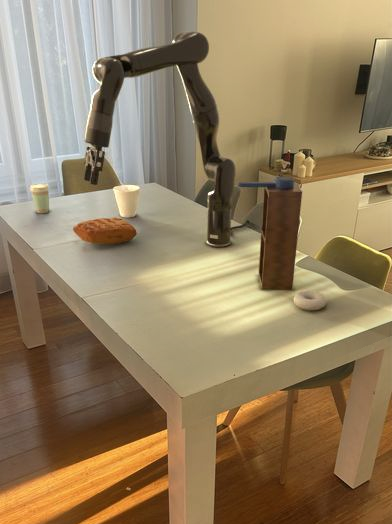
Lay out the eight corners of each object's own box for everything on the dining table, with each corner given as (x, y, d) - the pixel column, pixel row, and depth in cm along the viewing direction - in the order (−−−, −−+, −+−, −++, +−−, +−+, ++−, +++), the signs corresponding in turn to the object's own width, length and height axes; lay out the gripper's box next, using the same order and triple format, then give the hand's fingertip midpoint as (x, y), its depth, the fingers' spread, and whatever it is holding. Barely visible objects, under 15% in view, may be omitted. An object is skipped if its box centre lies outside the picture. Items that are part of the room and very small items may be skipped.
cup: (127, 210, 256) (125, 183, 250) (146, 214, 250) (145, 187, 244) (109, 216, 248) (107, 188, 242) (129, 220, 242) (127, 192, 236)
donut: (287, 307, 166) (318, 315, 162) (288, 297, 165) (319, 304, 160) (300, 296, 174) (330, 302, 169) (301, 286, 172) (331, 292, 167)
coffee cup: (49, 214, 250) (46, 187, 244) (31, 214, 250) (27, 187, 244) (54, 209, 257) (50, 183, 251) (36, 208, 258) (32, 183, 251)
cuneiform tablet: (89, 253, 206) (87, 232, 202) (72, 240, 219) (69, 221, 215) (140, 242, 217) (139, 223, 213) (121, 231, 229) (120, 212, 225)
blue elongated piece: (238, 188, 164) (238, 180, 163) (236, 184, 169) (237, 175, 168) (295, 189, 164) (295, 180, 163) (292, 184, 169) (292, 176, 168)
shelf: (261, 289, 178) (268, 191, 162) (258, 275, 188) (264, 181, 172) (292, 289, 178) (302, 191, 162) (287, 275, 188) (296, 182, 172)
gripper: (117, 133, 163) (107, 188, 168) (104, 130, 175) (95, 181, 180) (92, 127, 159) (83, 183, 165) (81, 124, 171) (73, 177, 176)
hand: (90, 182), depth 172 cm, fingers open, 8 cm apart
